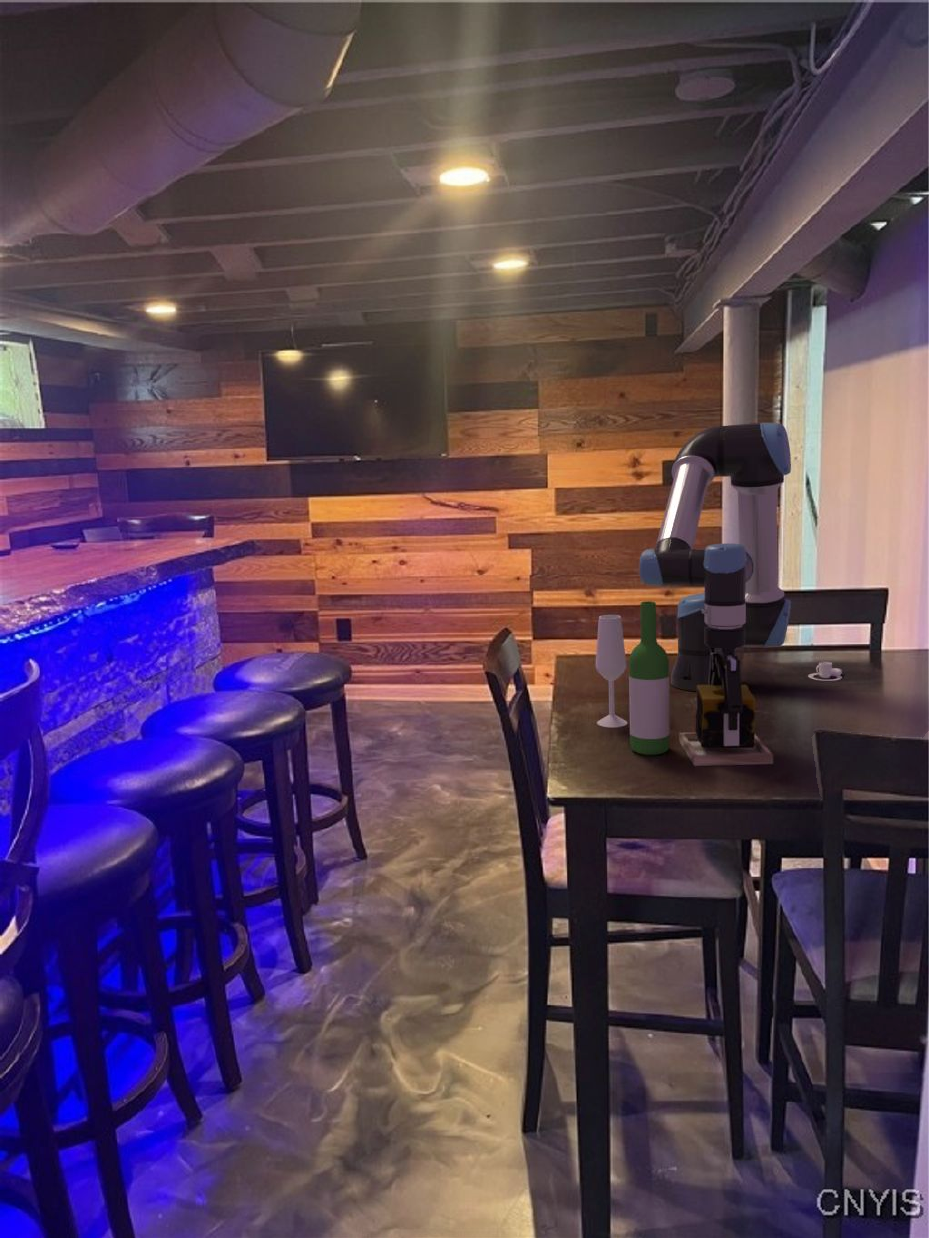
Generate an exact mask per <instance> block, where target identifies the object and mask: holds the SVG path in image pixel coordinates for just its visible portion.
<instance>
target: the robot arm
mask: <svg viewBox="0 0 929 1238" xmlns="http://www.w3.org/2000/svg"><path fill="white" fill-rule="evenodd" d="M789 442H790V440H789V436H788V432H787V429H786V427H785V426H784V425H783V424H781V423H780V422H763V421H761V422H755V423H754V422H753V423H752V422H751V423H742V424H731V425H714V426H711V427H708V428H706V429H703V430H702V431H699V432H698V433H696V434H695V435H693V436H692V437H691V438H690V439H688V441H686V442H685V444H684V445H683V446H682V447H681V448H680V450H679V451H678V453H677V455H676V456H675V458H674V460H673V464H672V468H671V476H672V479H673V480H672V481H673V482H672V484H671V488H670V492H669V495H668V500H667V503H666V506H665V511H664V513H663V518H662V522H661V526H660V530H659V533H658V537H657V540H656V545H655V548H650V549H644V550H643V551H642V552H641V555H640V557H639V566H638V568H639V569H638V571H639V577H640V580H641V582H642V583H643V584H644V585H647V586H656V587H657V586H658V587H704V592H702V593H695V594H691V595H687V596H685V597H682V598H681V599H680V600H679V602H678V603H677V615H676V618H677V656H676V659H675V663H674V666H673V668H672V671H671V675H670V683H671V686H673V687H674V688H676V689H680V690H683V691H690V692H697V685H722V687H723V695H724V702H725V710H722V714H724V746H739V713H742V712H743V705H742V691H741V685H742V681H741V679H742V678H741V660H740V659H738V656H737V655H735V653H736V652H735V650H736V649H737V648H743V647H755V648H763V649H764V648H778V647H781V646H783V645H784V643H785V641H786V636H787V633H788V626H789V619H790V614H791V607H792V606H791V604H792V601H791V600H790V599H787V598H786V599H785V591H783V589H781V588H780V587H779V586H778V500H777V499H778V489H779V487H781V485H782V484H783V483H784V482H785V476H787V475H789V474H791V471H792V461H791V459H792V457H791V456H792V455H791V446H790V443H789ZM717 477H724V478H725V477H730V485H731V487H733V489H735V490H736V492H737V508H738V510H737V511H738V512H737V513H738V514H737V515H738V516H737V517H738V543H714V544H710V545H707V546H706V547H705V549H695V548H694V544H695V541H696V540H695V539H696V535H697V531H698V526H699V523H700V520H701V519H700V518H701V514H702V509H703V506H704V501H705V497H706V493H707V488H708V487H709V485H711V484H712V482H713V481H714V478H717ZM733 705H735V706H733Z"/></svg>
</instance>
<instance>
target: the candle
mask: <svg viewBox="0 0 929 1238" xmlns="http://www.w3.org/2000/svg"><path fill="white" fill-rule="evenodd" d="M741 691H742V705H743V712H742V713H739V746H724V714H722V710H725V702H724V695H723V687H722V685H697V691H696V713H695V731H694V732H696V734H697V737H698V740H699V742H700V743H701V747H703V748H753V747H754V745H755V744H754V743H755V742H754V735H756V733H755V717H756V698H755V696H754V695H753V693H751V691H750V689H749V687H748V685H746V684H741ZM733 706H735V705H733Z"/></svg>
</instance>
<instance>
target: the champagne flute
mask: <svg viewBox="0 0 929 1238" xmlns="http://www.w3.org/2000/svg"><path fill="white" fill-rule="evenodd" d="M622 622H623V620H622V617H621V615H618V614H605V615H600V616H598V624H597V625H598V626H597V640H596V641H597V642H596V653H595V654H596V655H595V669H596V671H597V672H598V674H600V675H601V676H602V677H603V678H604V679H605V680H606V681H608V715H606V716H604V717H603V718H601V719H599V720H598V721H597V722H596V724H597V726H600V727H603V728H621V727H625V726H626V725H627V724H628V721H627V720H625V719H623V718H622V717H619V716H618V715H616V714H615V713H616V712H615V709H616V708H615V681H617V680H618V678H620V677H621V676H622V675H623V674H624V673H625V670H626V668H627V658H626V650H625V641H624V632H623V623H622Z"/></svg>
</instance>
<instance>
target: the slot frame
mask: <svg viewBox="0 0 929 1238" xmlns="http://www.w3.org/2000/svg"><path fill="white" fill-rule="evenodd" d="M678 737H679V743H680V744H681V746H682V748H683V750H684V752H686V755H687V756H688V757H689V760H690V761H691V763H692V765H693V766H694V767H701V766H703V767H704V766H705V767H708V766H710V767H711V766H737V765H739V766H740V765H742V766H745V765H747V766H749V765H773V764H774V754H773V753H772V751H771V750H769V748H768V747H767V746H766V744H764V742H762V740H761V739H760V738H759V736H757V735H756V734H755V735H754V742H755V743H754V744H755V745H754V747H753V748H703V747H701V743H700V742H699V740H698V737H697V734H696V732H695V731H693V732H692V731H691V732H689V731H688V732H679V736H678Z"/></svg>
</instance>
